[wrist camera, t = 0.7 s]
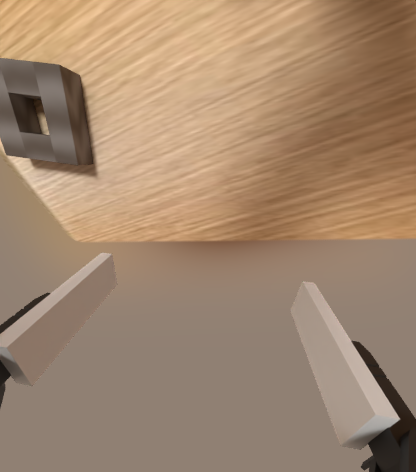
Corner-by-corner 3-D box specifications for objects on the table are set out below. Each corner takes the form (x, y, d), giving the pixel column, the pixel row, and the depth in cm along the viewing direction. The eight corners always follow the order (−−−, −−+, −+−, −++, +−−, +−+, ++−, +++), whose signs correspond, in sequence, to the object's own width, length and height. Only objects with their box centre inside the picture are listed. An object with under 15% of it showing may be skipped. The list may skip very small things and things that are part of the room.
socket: (1, 66, 31) (-29, 54, 27) (79, 75, 30) (59, 64, 26) (28, 154, 37) (6, 155, 33) (93, 163, 36) (77, 165, 33)
